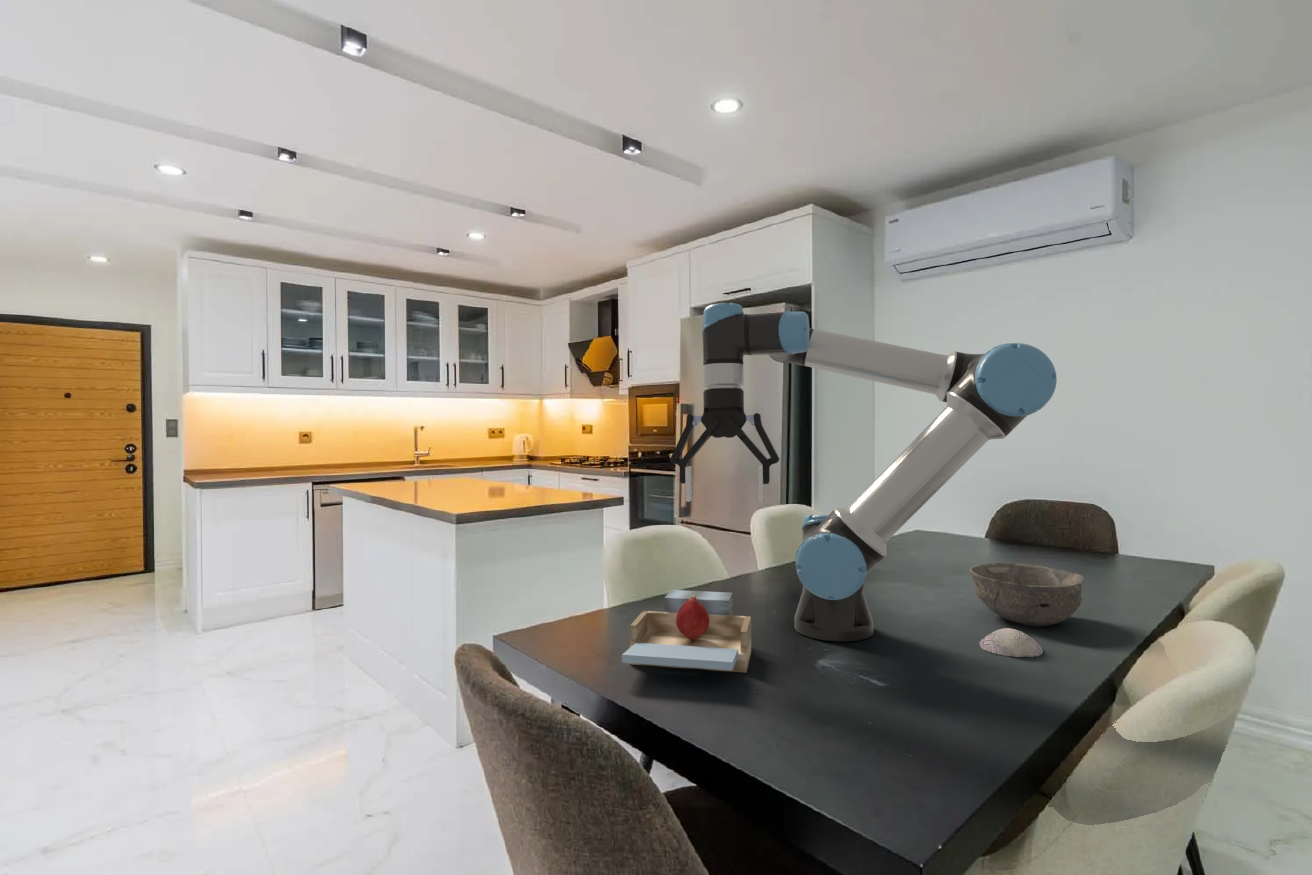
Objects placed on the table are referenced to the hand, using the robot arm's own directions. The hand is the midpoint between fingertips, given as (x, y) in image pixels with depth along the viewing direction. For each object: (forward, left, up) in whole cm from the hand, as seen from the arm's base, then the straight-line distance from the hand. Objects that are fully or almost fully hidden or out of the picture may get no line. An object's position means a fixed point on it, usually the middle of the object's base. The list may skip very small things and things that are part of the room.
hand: (724, 501), depth 122 cm
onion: (+5, +9, -24) cm, 26 cm away
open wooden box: (+5, +6, -27) cm, 28 cm away
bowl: (-59, -26, -27) cm, 70 cm away
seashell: (-51, -7, -27) cm, 58 cm away
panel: (+5, +14, -23) cm, 28 cm away
